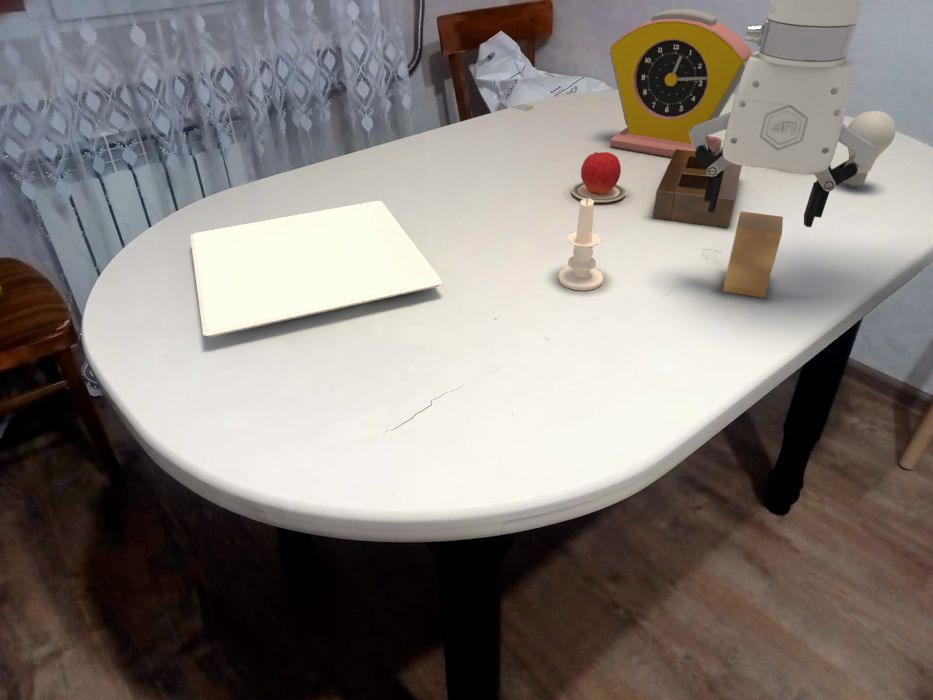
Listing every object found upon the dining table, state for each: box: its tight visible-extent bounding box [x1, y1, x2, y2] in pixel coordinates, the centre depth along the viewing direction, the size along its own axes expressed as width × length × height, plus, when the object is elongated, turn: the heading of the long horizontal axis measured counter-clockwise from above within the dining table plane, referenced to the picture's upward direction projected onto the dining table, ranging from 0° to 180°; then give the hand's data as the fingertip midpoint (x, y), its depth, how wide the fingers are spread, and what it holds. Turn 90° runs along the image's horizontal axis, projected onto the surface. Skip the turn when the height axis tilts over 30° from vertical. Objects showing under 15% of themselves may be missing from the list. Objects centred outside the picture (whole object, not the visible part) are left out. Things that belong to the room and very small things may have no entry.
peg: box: [722, 211, 784, 299], centre depth 73 cm, size 4×4×8 cm
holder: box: [652, 149, 743, 229], centre depth 95 cm, size 10×18×4 cm, turn 157°
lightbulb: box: [844, 110, 897, 188], centre depth 95 cm, size 6×6×11 cm
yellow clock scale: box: [609, 7, 753, 159], centre depth 108 cm, size 22×9×22 cm, turn 56°
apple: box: [571, 151, 627, 203], centre depth 97 cm, size 8×8×6 cm
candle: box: [558, 197, 604, 292], centre depth 75 cm, size 5×5×10 cm
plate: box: [189, 200, 444, 338], centre depth 81 cm, size 26×26×2 cm
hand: (758, 214), depth 71 cm, fingers open, 9 cm apart
